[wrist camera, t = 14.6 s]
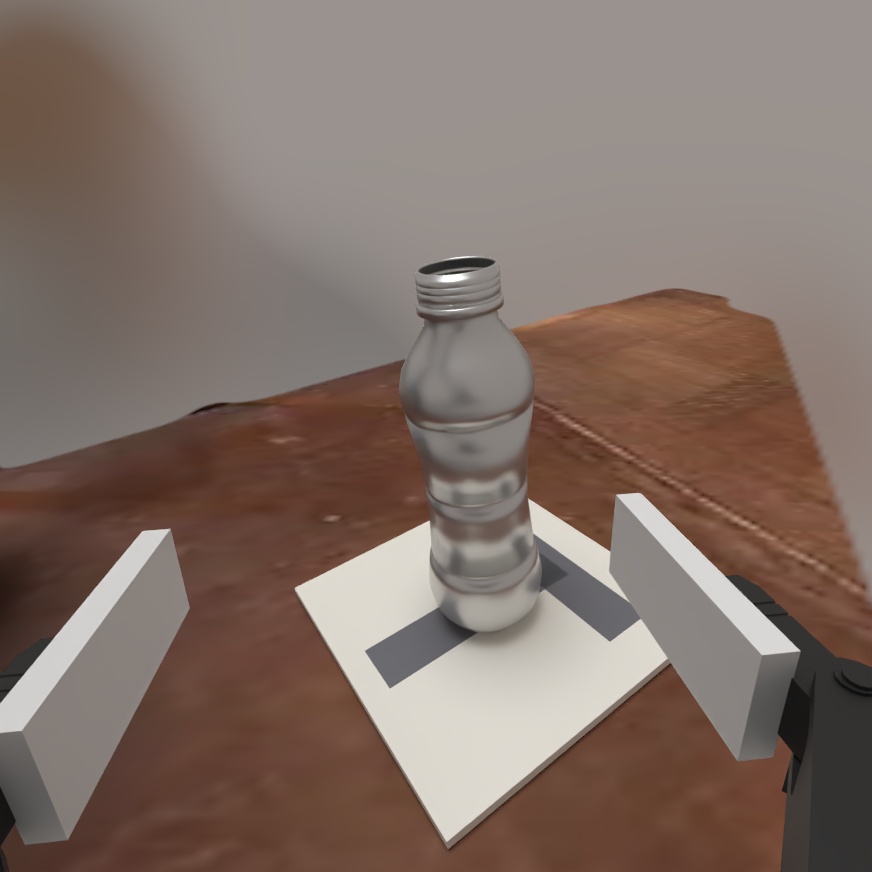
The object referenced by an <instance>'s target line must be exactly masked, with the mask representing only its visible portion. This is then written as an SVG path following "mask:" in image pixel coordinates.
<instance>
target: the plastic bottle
mask: <svg viewBox="0 0 872 872" xmlns="http://www.w3.org/2000/svg"><path fill="white" fill-rule="evenodd" d="M415 283H416V291H417V301H416V311H417V315H418V316H419V317H421V318H424V327H423V328H422V330H421V332H420V334H419V335H418V337H417V339H416V341H415V342H414V344H413V346H412V348H411V350H410V352H409V354H408V356H407V358H406V360H405V363H404V365H403V367H402V370H401V378H400V385H399V396H400V400H401V404H402V408H403V411H404V414H405V417H406V420H407V423H408V426H409V429H410V432H411V435H412V438H413V441H414V444H415V447H416V450H417V454H418V457H419V461H420V465H421V470H422V475H423V479H424V483H425V486H426V493H427V498H428V502H429V514H430V532H431V548H430V557H429V583H430V586H431V590H432V592H433V595H434V597H435V600H436V602H437V604H438V606H439V608H440V610H441V612H442V613H443V614H444V615H445V616H446V617H447V618H448V619H449V620H451V621H452V622H454V623H455V624H457V625H459V626H461V627H463V628H465V629H468V630H470V631H475V632H486V633H488V632H496V631H500V630H503V629H506V628H508V627H511V626H513V625H514V624H516V623H517V622H518V621H520V620H521V619H522V618H523V617H525V616H526V615H527V614H528V612H529V611H530V610H531V609H532V608H533V606H534V604H535V603H536V601H537V597H538V594H539V589H540V584H541V578H542V566H541V561H540V556H539V551H538V548H537V544H536V541H535V538H534V535H533V530H532V523H531V516H530V509H529V502H528V494H527V470H528V443H529V434H530V426H531V418H532V410H533V399H534V389H535V373H534V371H533V368H532V365H531V362H530V359H529V356H528V354H527V353H526V351H525V350H524V348H523V347H522V345H521V344H520V342H519V341H518V339H517V338H516V337H515V335H514V334H513V333H512V332H511V331H510V330H509V328H508V327H507V326H506V325H505V324H504V323H503V321H502V320H501V319H500V318H499V317H498V312H497V310H498V309H500V308H501V307H502V306H503V304H504V296H503V291H502V290H501V281H500V266H499V261H498V259H496V258H493V257H487V256H465V257H455V258H448V259H442V260H438V261H434V262H430V263H427V264H424V265H422V266H419V267H418V268H416V270H415Z"/></svg>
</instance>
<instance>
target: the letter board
mask: <svg viewBox="0 0 872 872" xmlns="http://www.w3.org/2000/svg"><path fill="white" fill-rule="evenodd" d="M528 502H529V509H530V516H531V523H532V530H533V535H534V538H535V541H536V544H537V548H538V551H539V556H540V561H541V566H542V578H541V584H540V589H539V594H538V597H537V601H536V603H535V604H534V606H533V608H532V609H531V610H530V611H529V612H528V614H527V615H526V616H525V617H523V618H522V619H521V620H520V621H518V622H517V623H516V624H514V625H513V626H511V627H508V628H506V629H503V630H500V631H496V632H488V633H486V632H475V631H470V630H468V629H465V628H463V627H461V626H459V625H457V624H455V623H454V622H452V621H451V620H449V619H448V618H447V617H446V616H445V615H444V614H443V613H442V612H441V610H440V608H439V606H438V604H437V602H436V600H435V597H434V595H433V592H432V590H431V586H430V583H429V557H430V548H431V532H430V521H428V522H426V523H424V524H422V525H420V526H418V527H416V528H414V529H412V530H410V531H408V532H406V533H404V534H402V535H400V536H398V537H396V538H394V539H392V540H390V541H388V542H386V543H384V544H382V545H380V546H378V547H376V548H374V549H372V550H370V551H368V552H366V553H364V554H362V555H360V556H358V557H356V558H354V559H352V560H350V561H348V562H346V563H344V564H342V565H340V566H338V567H336V568H334V569H332V570H330V571H328V572H326V573H324V574H322V575H320V576H318V577H316V578H314V579H312V580H310V581H308V582H306V583H304V584H302V585H300V586H298V587H296V588H295V591H296V594H297V596H298V598H299V600H300V601H301V603H302V605H303V606H304V608H305V610H306V611H307V613H308V615H309V616H310V618H311V620H312V621H313V623H314V625H315V627H316V628H317V630H318V632H319V633H320V635H321V637H322V638H323V640H324V642H325V643H326V645H327V647H328V648H329V650H330V652H331V653H332V655H333V657H334V658H335V660H336V662H337V664H338V665H339V667H340V669H341V670H342V672H343V674H344V675H345V677H346V679H347V680H348V682H349V684H350V685H351V687H352V689H353V690H354V692H355V694H356V696H357V697H358V699H359V701H360V702H361V704H362V706H363V707H364V709H365V711H366V712H367V714H368V716H369V717H370V719H371V721H372V722H373V724H374V726H375V727H376V729H377V731H378V733H379V734H380V736H381V738H382V739H383V741H384V743H385V744H386V746H387V748H388V749H389V751H390V753H391V754H392V756H393V758H394V759H395V761H396V763H397V764H398V766H399V768H400V770H401V771H402V773H403V775H404V776H405V778H406V780H407V781H408V783H409V785H410V786H411V788H412V790H413V791H414V793H415V795H416V796H417V798H418V800H419V801H420V803H421V805H422V807H423V808H424V810H425V812H426V813H427V815H428V817H429V818H430V820H431V822H432V823H433V825H434V827H435V828H436V830H437V832H438V833H439V835H440V837H441V838H442V840H443V842H444V844H445V845H446V847H447V849H449V848H450V847H452V846H453V845H454V844H455V843H456V842H458V841H459V840H460V839H461V838H462V837H464V836H465V835H466V834H467V833H468V832H470V831H471V830H472V829H473V828H474V827H476V826H477V825H478V824H479V823H480V822H481V821H483V820H484V819H485V818H486V817H487V816H489V815H490V814H491V813H492V812H493V811H495V810H496V809H497V808H498V807H499V806H501V805H502V804H503V803H504V802H505V801H506V800H508V799H509V798H510V797H511V796H512V795H514V794H515V793H516V792H517V791H518V790H520V789H521V788H522V787H523V786H524V785H526V784H527V783H528V782H529V781H530V780H532V779H533V778H534V777H535V776H536V775H537V774H539V773H540V772H541V771H542V770H543V769H545V768H546V767H547V766H548V765H549V764H551V763H552V762H553V761H554V760H555V759H557V758H558V757H559V756H560V755H561V754H562V753H564V752H565V751H566V750H567V749H568V748H570V747H571V746H572V745H573V744H574V743H576V742H577V741H578V740H579V739H580V738H582V737H583V736H584V735H585V734H586V733H588V732H589V731H590V730H591V729H592V728H593V727H595V726H596V725H597V724H598V723H599V722H601V721H602V720H603V719H604V718H605V717H607V716H608V715H609V714H610V713H611V712H613V711H614V710H615V709H616V708H617V707H618V706H620V705H621V704H622V703H623V702H624V701H626V700H627V699H628V698H629V697H630V696H632V695H633V694H634V693H635V692H636V691H638V690H639V689H640V688H641V687H642V686H644V685H645V684H646V683H647V682H648V681H649V680H651V679H652V678H653V677H654V676H655V675H657V674H658V673H659V672H660V671H661V670H663V669H664V668H665V667H666V666H667V665H669V664H670V663H671V662H670V661H669V659H668V658H667V656H666V655H665V654H664V652H663V651H662V649H661V648H660V646H659V645H658V643H657V642H656V640H655V639H654V637H653V636H652V634H651V633H650V631H649V630H648V628H647V627H646V626H645V624H644V623H643V621H642V620H641V618H640V617H639V615H638V614H637V612H636V611H635V609H634V608H633V606H632V605H631V603H630V602H629V600H628V599H627V598H626V596H625V595H624V593H623V592H622V590H621V589H620V587H619V586H618V584H617V583H616V581H615V580H614V578H613V577H612V575H611V574H610V572H609V564H610V553H611V552H610V551H608V550H606V549H605V548H603V547H602V546H600V545H599V544H597V543H596V542H594V541H593V540H591V539H590V538H588V537H586V536H585V535H583V534H582V533H580V532H579V531H577V530H576V529H574V528H573V527H571V526H570V525H568V524H566V523H565V522H563V521H562V520H560V519H559V518H557V517H556V516H554V515H553V514H551V513H550V512H548V511H546V510H545V509H543V508H542V507H540V506H539V505H537V504H536V503H534V502H533V501H531V500H530V499H528Z"/></svg>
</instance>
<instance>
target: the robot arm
mask: <svg viewBox="0 0 872 872" xmlns="http://www.w3.org/2000/svg"><path fill="white" fill-rule="evenodd" d="M609 572H610V574H611V575H612V577H613V578H614V580H615V581H616V583H617V584H618V586H619V587H620V589H621V590H622V592H623V593H624V595H625V596H626V598H627V599H628V600H629V602H630V603H631V605H632V606H633V608H634V609H635V611H636V612H637V614H638V615H639V617H640V618H641V620H642V621H643V623H644V624H645V626H646V627H647V628H648V630H649V631H650V633H651V634H652V636H653V637H654V639H655V640H656V642H657V643H658V645H659V646H660V648H661V649H662V651H663V652H664V654H665V655H666V656H667V658H668V659H669V661H670V662H671V664H672V665H673V667H674V668H675V670H676V671H677V673H678V674H679V676H680V677H681V679H682V680H683V682H684V683H685V684H686V686H687V687H688V689H689V690H690V692H691V693H692V695H693V696H694V698H695V699H696V701H697V702H698V704H699V705H700V707H701V708H702V710H703V711H704V712H705V714H706V715H707V717H708V718H709V720H710V721H711V723H712V724H713V726H714V727H715V729H716V730H717V732H718V733H719V735H720V736H721V738H722V739H723V740H724V742H725V743H726V745H727V746H728V748H729V749H730V751H731V752H732V754H733V755H734V757H735V758H736V760H737V761H744V760H753V759H761V758H770V757H773V755H774V751H775V748H776V744H777V740H778V736H780V737H781V738H782V739H783V741H784V742H785V743H786V744H787V746H788V747H789V748H790V749H791V751H792V752H793V753H792V756H791V760H790V764H789V767H788V771H787V774H786V778H785V782H784V785H783V789H782V791H783V792H785V793H787V799H786V811H785V824H784V836H783V848H782V860H781V872H872V667H869V666H867V665H865V664H862V663H860V662H857V661H854V660H849V659H845V658H836V657H835V656H834V655H833V654H832V653H831V652H830V651H828V650H827V649H826V648H825V647H824V646H823V645H822V644H821V643H820V642H819V641H818V640H817V639H815V638H814V637H813V636H812V635H811V634H810V633H809V632H808V631H807V630H806V629H805V628H804V627H802V626H801V625H800V624H799V623H798V622H797V621H796V620H795V619H794V618H793V617H792V616H788V613H787V612H786V611H785V610H784V609H783V608H782V607H781V606H780V605H779V604H775V601H774V600H773V599H772V598H771V597H770V596H769V595H768V594H767V593H766V592H765V591H764V590H762V589H761V588H760V587H759V586H757V585H755V584H754V583H752V582H750V581H748V580H746V579H745V578H743V577H741V576H739V575H732V576H724V575H723V574H722V573H721V572H720V571H719V570H718V569H717V568H716V567H715V566H714V565H713V564H712V563H711V562H710V561H709V560H708V559H707V558H706V557H705V556H704V555H703V554H702V553H701V552H700V551H699V550H698V549H697V548H696V547H695V546H694V545H693V544H692V543H691V542H690V541H689V540H687V539H686V538H685V537H684V536H683V535H682V534H681V533H680V532H679V531H678V530H677V529H676V528H675V527H674V526H673V525H672V524H671V523H670V522H669V521H668V520H667V519H666V518H665V517H664V516H663V515H662V514H661V513H660V512H659V511H658V510H657V509H656V508H655V507H654V506H653V505H652V504H651V503H650V502H649V501H648V500H647V499H646V498H645V497H644V496H643V495H642V494H641V493H633V494H620V495H616V500H615V511H614V522H613V532H612V543H611V553H610V564H609ZM189 609H190V607H189V603H188V599H187V595H186V591H185V587H184V583H183V579H182V575H181V570H180V566H179V562H178V558H177V554H176V550H175V546H174V542H173V538H172V533H171V529H163V530H150V531H142V532H141V534H140V535H139V536H138V537H137V538H136V540H135V541H134V542H133V543H132V545H131V546H130V547H129V548H128V549H127V551H126V552H125V553H124V554H123V555H122V557H121V558H120V559H119V560H118V561H117V563H116V564H115V565H114V566H113V568H112V569H111V570H110V571H109V572H108V574H107V575H106V576H105V577H104V578H103V580H102V581H101V582H100V583H99V584H98V586H97V587H96V588H95V589H94V591H93V592H92V593H91V594H90V595H89V597H88V598H87V599H86V600H85V601H84V603H83V604H82V605H81V606H80V607H79V609H78V610H77V611H76V612H75V614H74V615H73V616H72V617H71V618H70V620H69V621H68V622H67V623H66V624H65V626H64V627H63V628H62V629H61V630H60V632H59V633H58V634H57V635H56V636H55V638H47V639H40V640H38V641H37V642H36V643H34V644H33V645H31V646H30V647H29V648H27V649H26V650H24V651H23V652H22V653H20V654H19V655H18V656H16V657H15V658H14V660H13V661H12V662H11V663H10V664H9V665H8V666H7V667H6V669H5V670H4V671H3V672H2V673H1V674H0V846H1V844H2V843H3V841H4V840H5V838H6V837H7V835H8V833H9V832H10V830H11V829H12V827H13V825H14V824H15V825H16V827H17V830H18V832H19V834H20V836H21V838H22V840H23V842H24V845H28V844H37V843H45V842H54V841H62V840H68V839H69V837H70V835H71V833H72V831H73V829H74V827H75V825H76V823H77V822H78V820H79V818H80V816H81V814H82V812H83V810H84V808H85V806H86V804H87V803H88V801H89V799H90V797H91V795H92V793H93V791H94V789H95V787H96V785H97V784H98V782H99V780H100V778H101V776H102V774H103V772H104V770H105V768H106V766H107V764H108V763H109V761H110V759H111V757H112V755H113V753H114V751H115V749H116V747H117V745H118V744H119V742H120V740H121V738H122V736H123V734H124V732H125V730H126V728H127V726H128V725H129V723H130V721H131V719H132V717H133V715H134V713H135V711H136V709H137V707H138V706H139V704H140V702H141V700H142V698H143V696H144V694H145V692H146V690H147V688H148V687H149V685H150V683H151V681H152V679H153V677H154V675H155V673H156V671H157V669H158V667H159V666H160V664H161V662H162V660H163V658H164V656H165V654H166V652H167V650H168V648H169V647H170V645H171V643H172V641H173V639H174V637H175V635H176V633H177V631H178V629H179V628H180V626H181V624H182V622H183V620H184V618H185V616H186V614H187V612H188V610H189ZM0 872H9V869H8V865H7V861H6V857H5V855H4V853H3V851H2V849H1V847H0Z"/></svg>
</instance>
